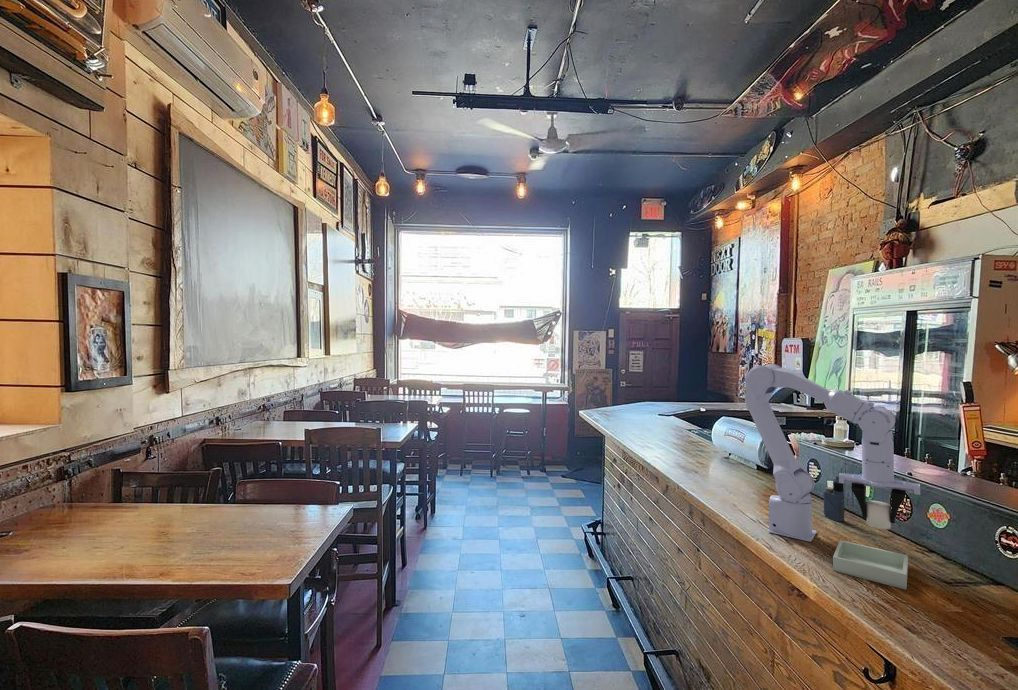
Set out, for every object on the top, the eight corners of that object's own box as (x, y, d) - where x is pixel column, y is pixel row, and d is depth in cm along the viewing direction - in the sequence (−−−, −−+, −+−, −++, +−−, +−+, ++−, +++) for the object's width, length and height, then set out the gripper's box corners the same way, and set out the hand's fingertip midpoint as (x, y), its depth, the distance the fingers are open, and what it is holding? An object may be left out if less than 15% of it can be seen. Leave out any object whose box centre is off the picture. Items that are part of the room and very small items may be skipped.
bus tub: (833, 570, 99) (832, 556, 99) (840, 552, 107) (839, 540, 107) (906, 589, 91) (906, 574, 91) (908, 569, 99) (907, 555, 99)
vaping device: (839, 522, 125) (838, 478, 125) (821, 515, 130) (821, 473, 130) (846, 521, 126) (846, 477, 126) (828, 514, 131) (828, 472, 131)
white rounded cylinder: (865, 526, 106) (865, 504, 106) (867, 520, 109) (866, 499, 109) (890, 531, 103) (890, 508, 103) (891, 525, 106) (891, 503, 106)
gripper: (836, 458, 107) (837, 516, 108) (919, 469, 98) (920, 532, 98) (840, 453, 113) (841, 508, 113) (919, 462, 103) (920, 522, 103)
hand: (878, 519), depth 106 cm, fingers closed on white rounded cylinder, 4 cm apart
